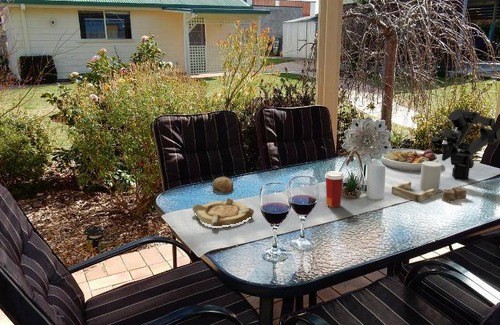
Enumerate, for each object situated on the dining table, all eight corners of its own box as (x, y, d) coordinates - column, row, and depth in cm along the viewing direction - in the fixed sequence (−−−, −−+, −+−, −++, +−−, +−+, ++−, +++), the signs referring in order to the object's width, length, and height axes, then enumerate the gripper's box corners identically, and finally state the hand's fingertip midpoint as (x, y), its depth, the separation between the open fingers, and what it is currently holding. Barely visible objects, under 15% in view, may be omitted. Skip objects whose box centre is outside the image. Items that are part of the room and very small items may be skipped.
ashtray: (194, 232, 156) (193, 220, 155) (192, 208, 179) (191, 197, 178) (257, 227, 160) (257, 215, 158) (248, 204, 182) (247, 193, 181)
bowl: (397, 174, 216) (398, 160, 214) (369, 159, 244) (370, 146, 242) (450, 170, 222) (451, 155, 219) (417, 155, 250) (418, 142, 248)
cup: (435, 186, 198) (438, 161, 195) (441, 192, 190) (444, 166, 187) (417, 185, 199) (419, 161, 195) (422, 191, 191) (424, 166, 188)
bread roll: (211, 197, 200) (206, 185, 195) (219, 182, 207) (215, 170, 202) (230, 200, 196) (226, 187, 191) (237, 184, 203) (234, 172, 198)
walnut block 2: (459, 196, 185) (460, 187, 184) (465, 199, 182) (466, 190, 181) (451, 196, 185) (452, 188, 184) (457, 200, 181) (458, 191, 180)
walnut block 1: (452, 198, 182) (453, 190, 181) (453, 202, 179) (454, 193, 178) (442, 197, 184) (443, 189, 183) (442, 201, 180) (443, 192, 179)
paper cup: (344, 203, 180) (346, 171, 176) (340, 209, 173) (341, 177, 169) (326, 200, 183) (327, 169, 179) (321, 207, 176) (322, 175, 172)
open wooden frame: (408, 187, 197) (409, 181, 196) (434, 195, 186) (435, 189, 185) (391, 193, 190) (391, 186, 189) (417, 201, 180) (418, 195, 179)
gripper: (434, 120, 201) (418, 146, 198) (473, 126, 186) (456, 154, 184) (442, 133, 208) (427, 159, 205) (480, 140, 193) (464, 168, 190)
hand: (442, 160), depth 196 cm, fingers closed
